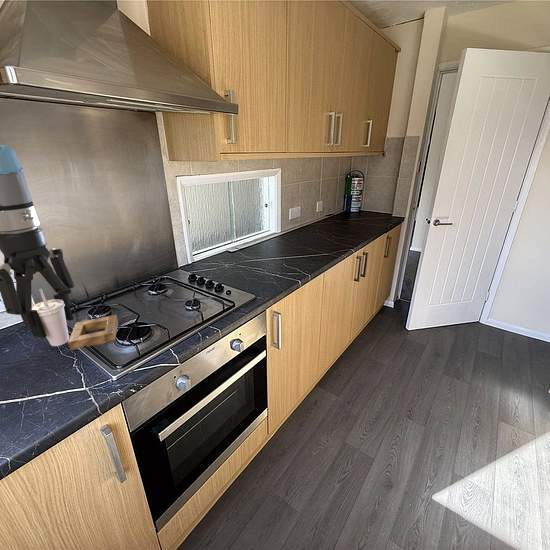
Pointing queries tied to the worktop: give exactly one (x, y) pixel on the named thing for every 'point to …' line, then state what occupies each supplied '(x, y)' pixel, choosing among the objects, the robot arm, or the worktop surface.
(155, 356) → the worktop surface
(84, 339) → the wooden tray
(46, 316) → the smoothie
